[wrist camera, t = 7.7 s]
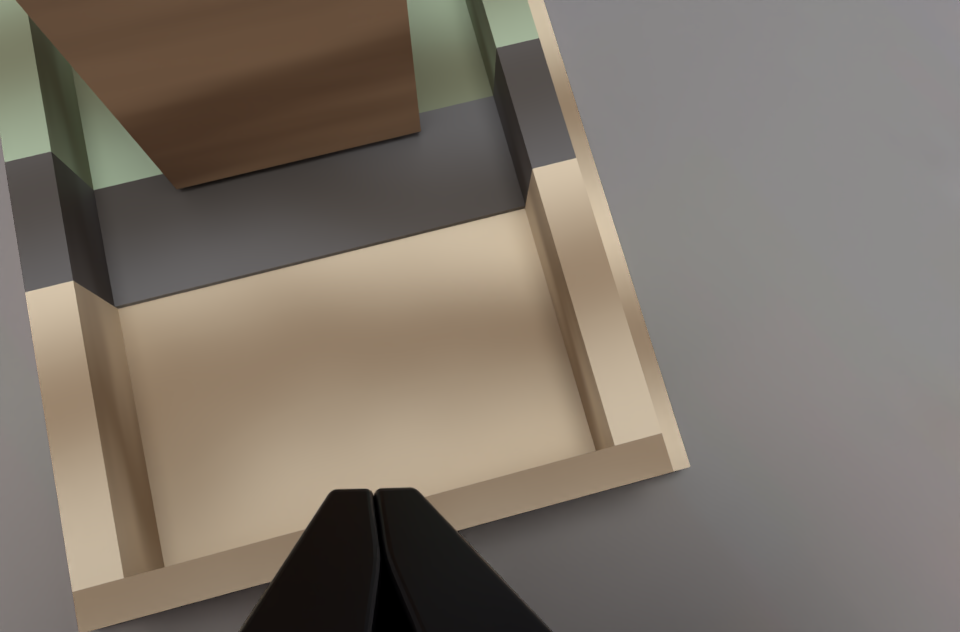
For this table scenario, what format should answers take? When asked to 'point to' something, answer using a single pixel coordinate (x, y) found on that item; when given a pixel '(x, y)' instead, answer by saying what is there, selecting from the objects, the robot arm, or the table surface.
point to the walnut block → (241, 76)
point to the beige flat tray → (324, 317)
